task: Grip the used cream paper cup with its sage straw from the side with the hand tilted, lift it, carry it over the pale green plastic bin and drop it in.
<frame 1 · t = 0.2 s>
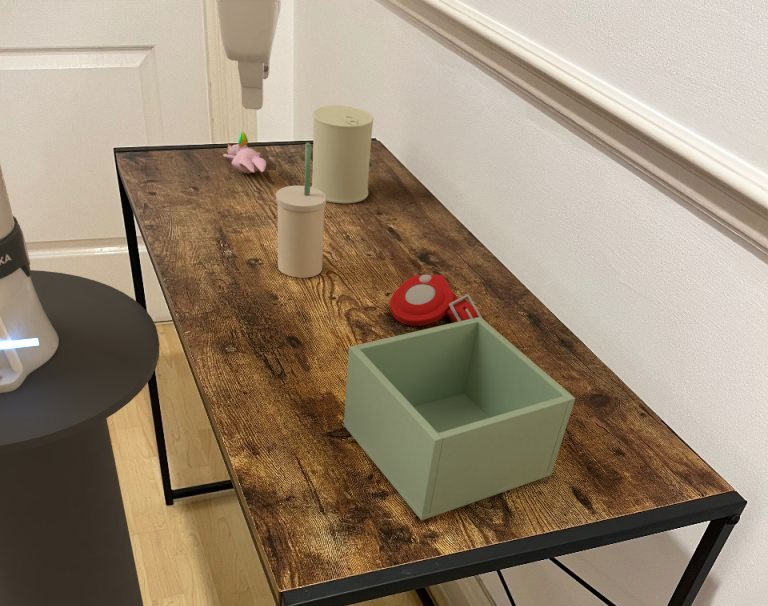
hand: (256, 91, 72), 27 cm above the table, tool pointing down, fingers open, 8 cm apart
paper cup: (300, 267, 106), on the table
red flat rounded piece: (432, 319, 99), on the table
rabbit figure: (246, 172, 128), on the table
can: (339, 193, 125), on the table
bin: (445, 450, 80), on the table
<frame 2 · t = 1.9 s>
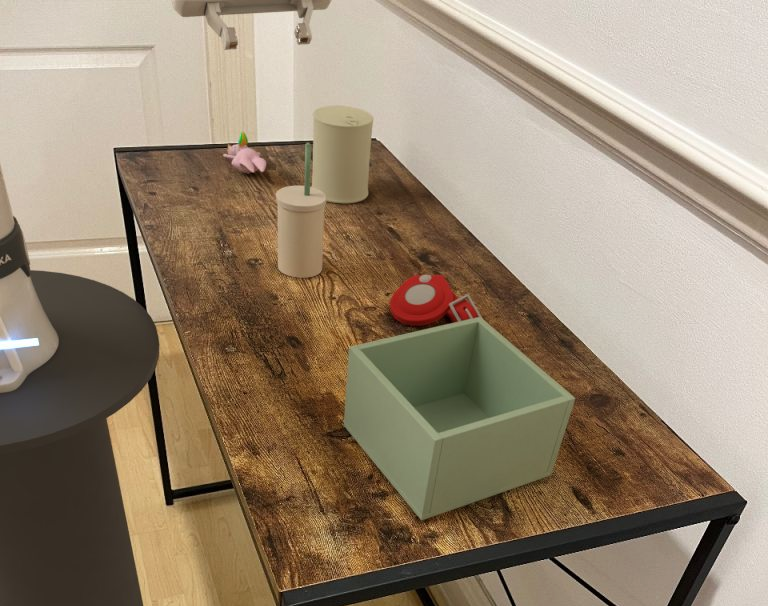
hand: (268, 44, 95), 24 cm above the table, tool tilted 45°, fingers open, 8 cm apart
nothing on the table moved.
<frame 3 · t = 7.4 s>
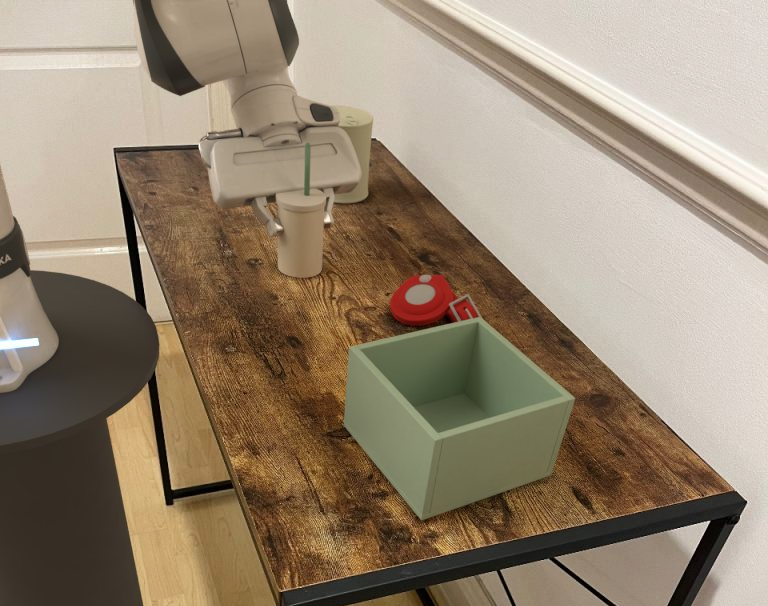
hand: (303, 230, 102), 5 cm above the table, tool tilted 45°, fingers closed on paper cup, 6 cm apart
paper cup: (300, 267, 106), on the table, touching gripper
everything else where it was.
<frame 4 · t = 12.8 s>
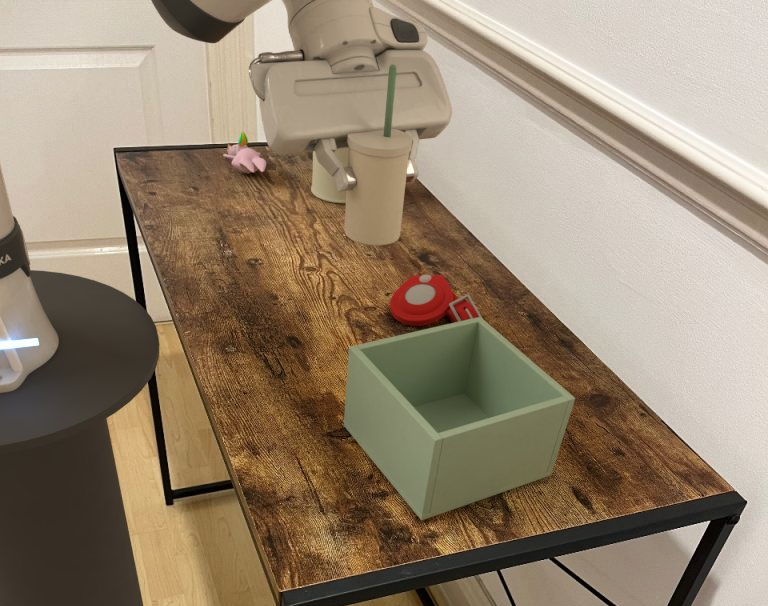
hand: (379, 184, 79), 19 cm above the table, tool tilted 45°, fingers closed on paper cup, 6 cm apart
paper cup: (372, 232, 83), point 14 cm above the table, touching gripper
everything else where it was.
when the fingers open (10 cm above the table, at t = 18.2 s): paper cup drops 4 cm, resting on bin.
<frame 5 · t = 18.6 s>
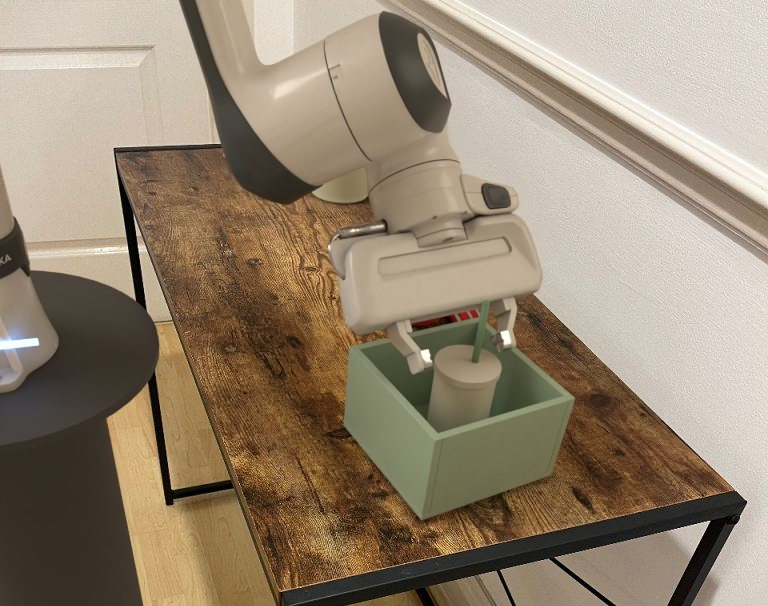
hand: (465, 361, 72), 11 cm above the table, tool tilted 45°, fingers open, 8 cm apart
paper cup: (452, 443, 80), point 1 cm above the table, touching bin
everything else where it was.
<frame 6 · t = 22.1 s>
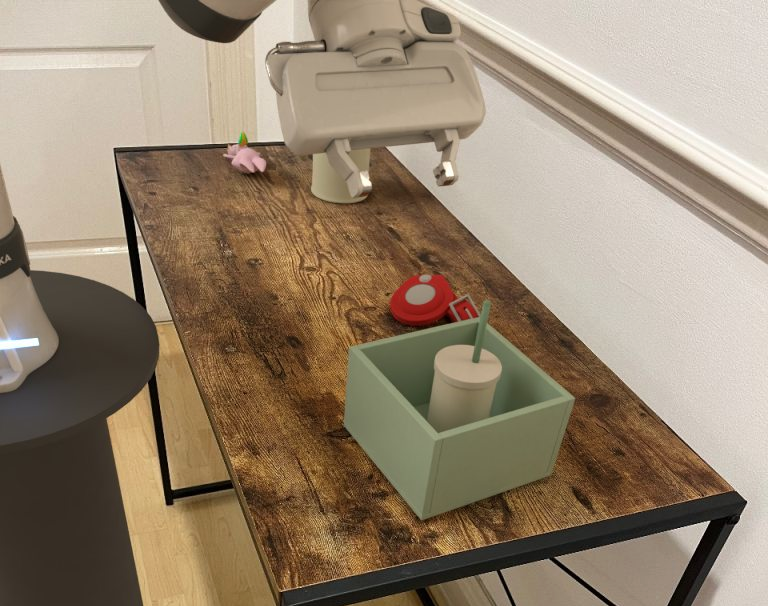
hand: (406, 189, 72), 22 cm above the table, tool tilted 45°, fingers open, 8 cm apart
nothing on the table moved.
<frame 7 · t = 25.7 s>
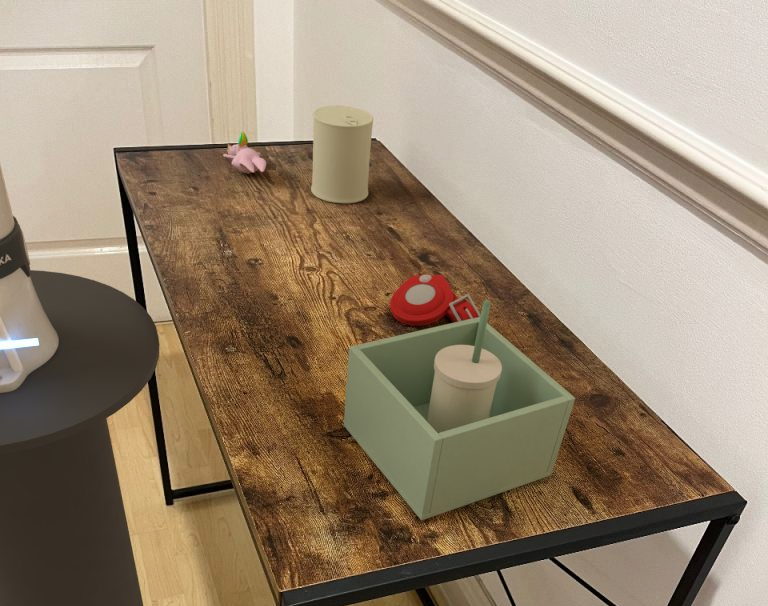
nothing on the table moved.
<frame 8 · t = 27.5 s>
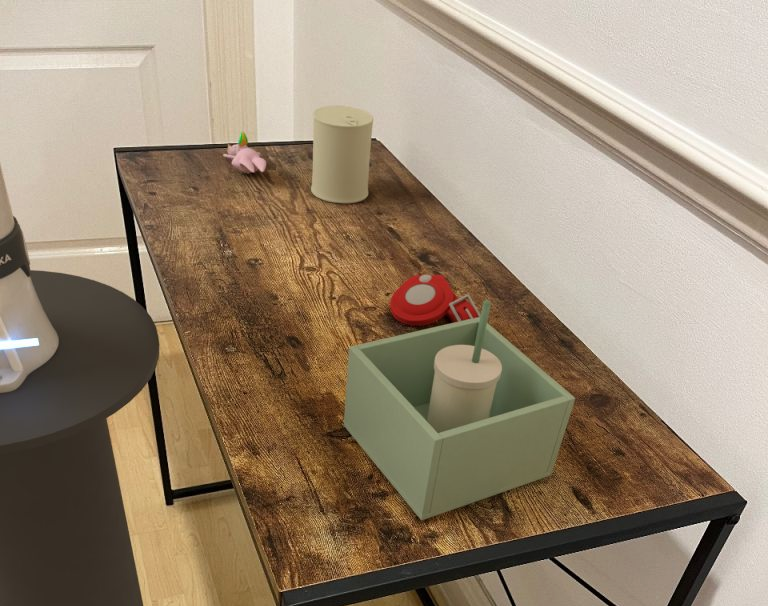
nothing on the table moved.
at the end: paper cup inside the target area in the bin (0.8 cm from its centre), point 0.6 cm above the bin's base; the gripper is holding nothing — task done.
